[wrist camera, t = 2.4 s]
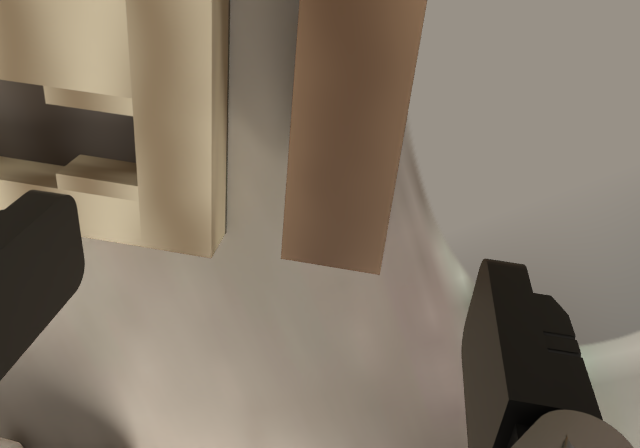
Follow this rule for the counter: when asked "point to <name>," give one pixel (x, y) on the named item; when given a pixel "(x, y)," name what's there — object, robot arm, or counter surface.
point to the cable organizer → (9, 443)
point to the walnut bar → (348, 128)
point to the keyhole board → (120, 115)
